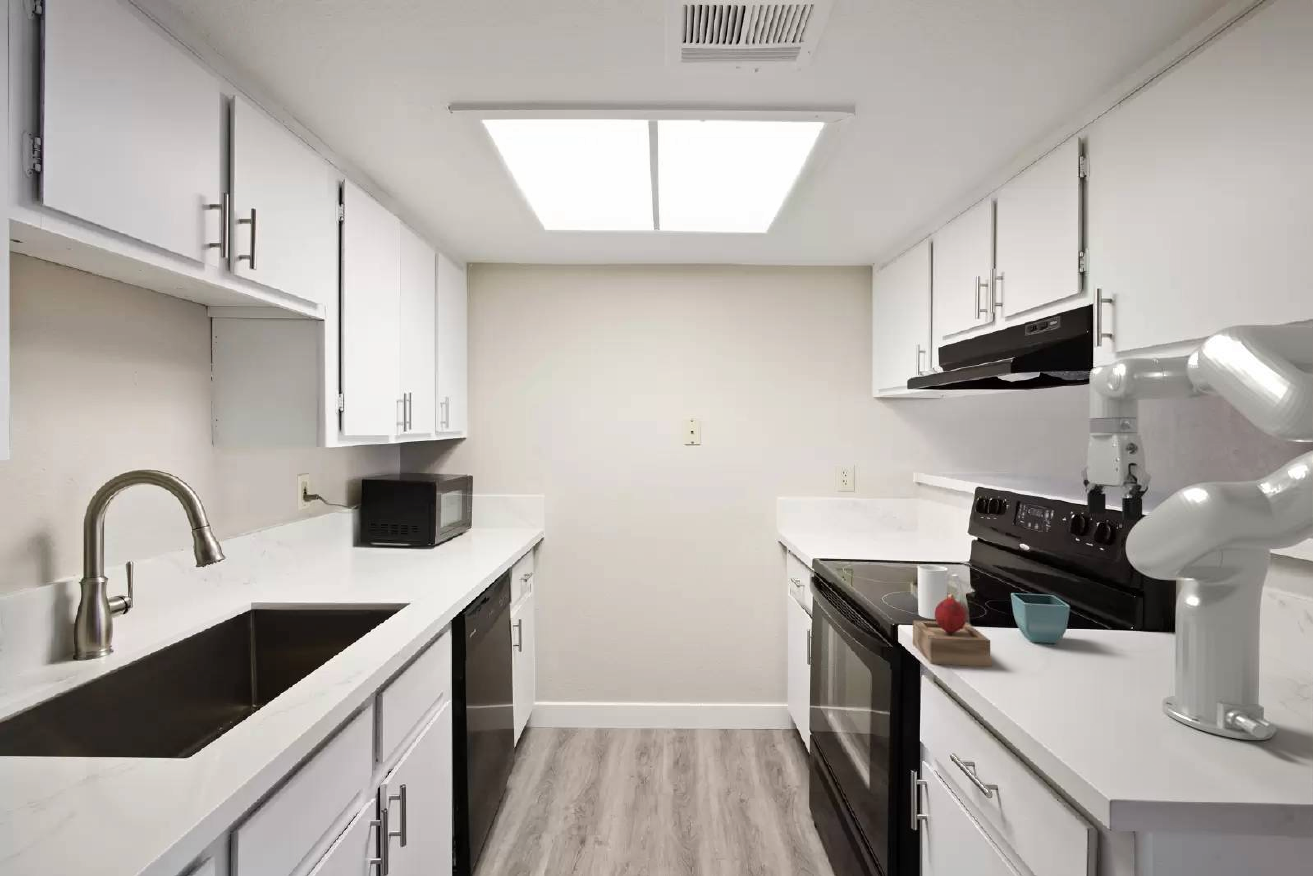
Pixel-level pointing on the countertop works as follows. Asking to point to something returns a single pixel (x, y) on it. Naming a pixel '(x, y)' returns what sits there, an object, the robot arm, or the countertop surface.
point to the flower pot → (1040, 616)
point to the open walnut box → (951, 644)
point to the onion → (950, 615)
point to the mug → (934, 588)
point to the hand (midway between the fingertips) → (1113, 516)
